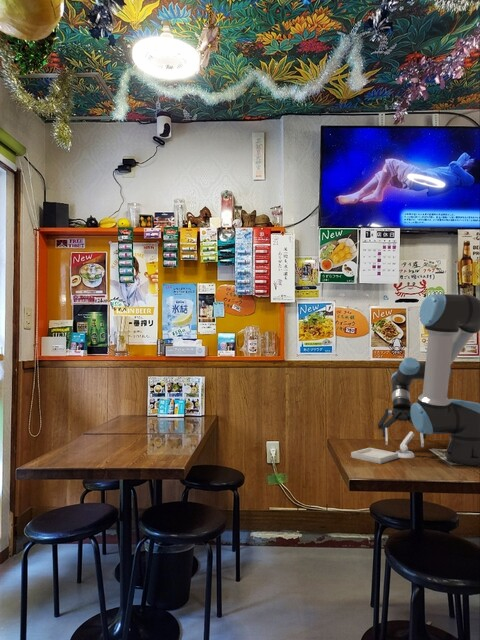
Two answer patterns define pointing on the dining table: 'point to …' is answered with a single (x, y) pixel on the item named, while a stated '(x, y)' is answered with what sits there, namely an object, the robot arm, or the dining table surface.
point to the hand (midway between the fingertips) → (404, 444)
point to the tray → (374, 455)
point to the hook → (404, 449)
